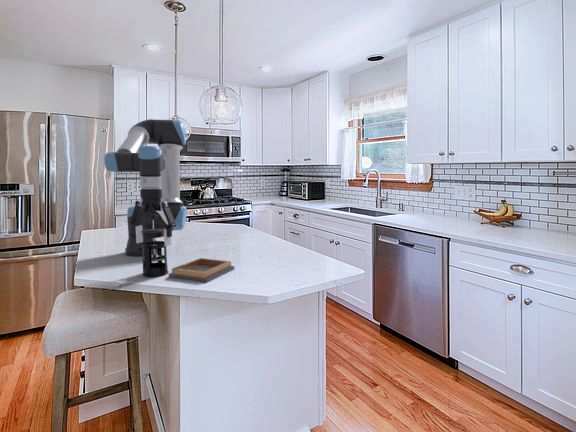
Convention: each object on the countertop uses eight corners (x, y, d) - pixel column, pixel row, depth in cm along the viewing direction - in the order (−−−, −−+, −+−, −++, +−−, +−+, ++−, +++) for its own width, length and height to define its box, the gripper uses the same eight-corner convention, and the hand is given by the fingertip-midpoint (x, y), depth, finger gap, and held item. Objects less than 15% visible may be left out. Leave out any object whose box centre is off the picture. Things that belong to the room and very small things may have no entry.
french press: (150, 269, 143) (147, 212, 140) (172, 270, 142) (170, 213, 140) (135, 278, 132) (132, 216, 129) (160, 279, 131) (157, 217, 128)
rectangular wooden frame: (168, 277, 133) (168, 268, 133) (199, 264, 151) (199, 257, 150) (206, 282, 127) (206, 273, 127) (234, 269, 144) (234, 261, 144)
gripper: (117, 187, 134) (120, 243, 137) (171, 189, 125) (173, 248, 127) (133, 187, 141) (136, 239, 144) (184, 188, 132) (186, 244, 134)
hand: (153, 244), depth 136 cm, fingers open, 13 cm apart
